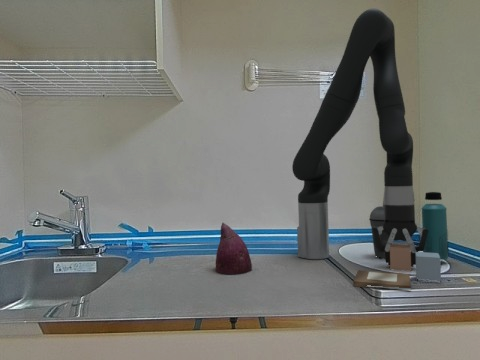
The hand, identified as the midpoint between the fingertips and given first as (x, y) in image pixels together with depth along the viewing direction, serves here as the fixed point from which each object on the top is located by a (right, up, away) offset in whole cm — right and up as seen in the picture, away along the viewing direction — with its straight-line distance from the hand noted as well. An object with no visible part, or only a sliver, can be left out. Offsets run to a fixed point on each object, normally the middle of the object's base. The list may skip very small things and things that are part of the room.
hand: (400, 265), depth 97 cm
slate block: (+2, -1, -11) cm, 11 cm away
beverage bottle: (+12, 0, +5) cm, 13 cm away
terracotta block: (0, -1, 0) cm, 1 cm away
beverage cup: (0, -1, +13) cm, 13 cm away
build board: (-10, -1, -12) cm, 16 cm away
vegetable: (-45, -2, +4) cm, 46 cm away
